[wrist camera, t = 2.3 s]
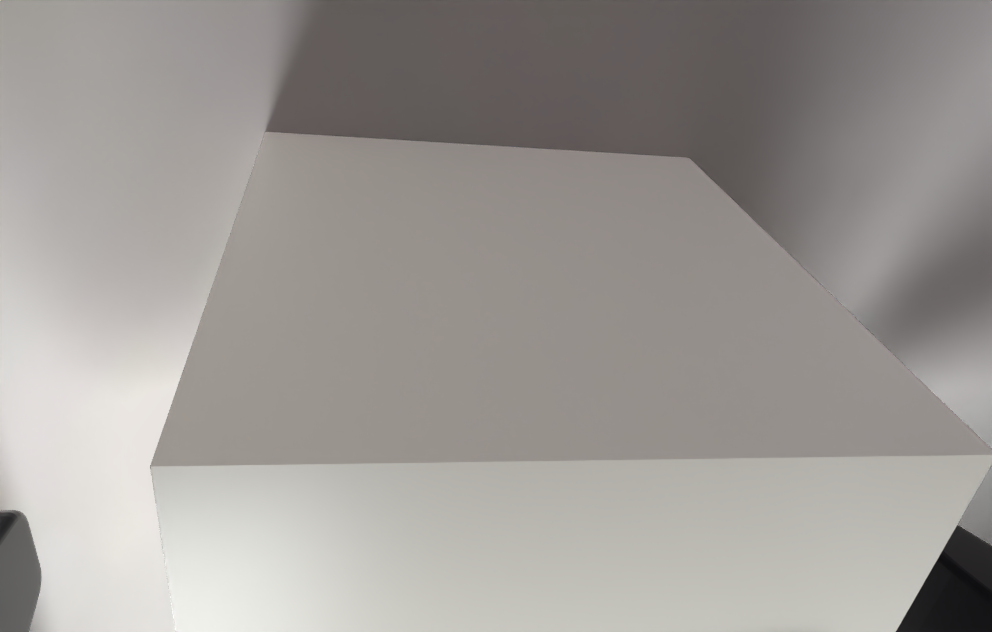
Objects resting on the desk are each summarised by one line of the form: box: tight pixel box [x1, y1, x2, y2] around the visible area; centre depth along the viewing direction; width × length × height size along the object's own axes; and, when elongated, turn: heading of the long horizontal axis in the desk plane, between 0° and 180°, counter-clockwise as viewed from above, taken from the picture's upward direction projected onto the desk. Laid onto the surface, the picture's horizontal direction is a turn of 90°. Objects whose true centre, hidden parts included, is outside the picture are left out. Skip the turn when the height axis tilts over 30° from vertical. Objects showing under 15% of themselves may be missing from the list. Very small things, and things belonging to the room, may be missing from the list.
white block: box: [150, 132, 992, 632], centre depth 8 cm, size 4×7×5 cm, turn 173°
